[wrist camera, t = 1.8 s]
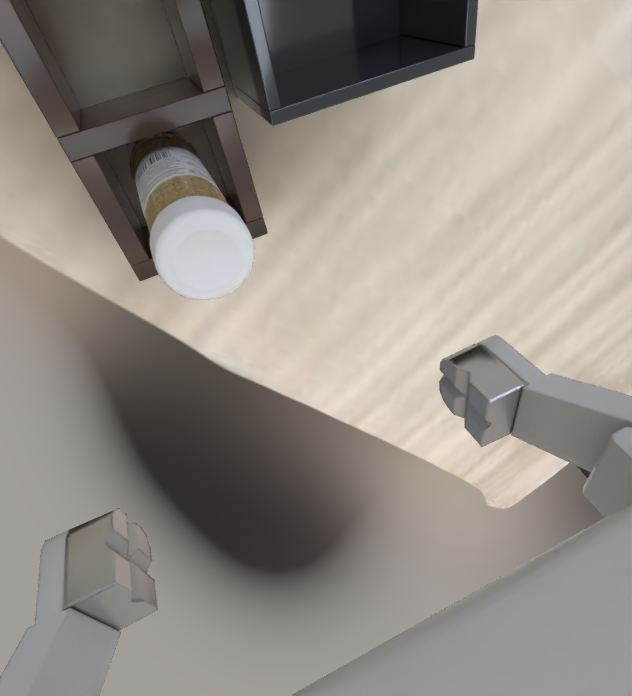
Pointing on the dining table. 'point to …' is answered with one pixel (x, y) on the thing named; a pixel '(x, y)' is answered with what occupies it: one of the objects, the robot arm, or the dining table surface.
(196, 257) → the spice jar
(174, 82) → the rack
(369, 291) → the dining table surface
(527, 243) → the dining table surface
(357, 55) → the dark grey open box
